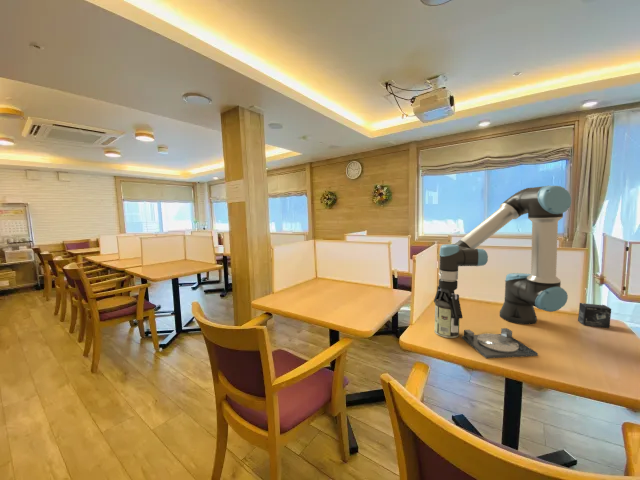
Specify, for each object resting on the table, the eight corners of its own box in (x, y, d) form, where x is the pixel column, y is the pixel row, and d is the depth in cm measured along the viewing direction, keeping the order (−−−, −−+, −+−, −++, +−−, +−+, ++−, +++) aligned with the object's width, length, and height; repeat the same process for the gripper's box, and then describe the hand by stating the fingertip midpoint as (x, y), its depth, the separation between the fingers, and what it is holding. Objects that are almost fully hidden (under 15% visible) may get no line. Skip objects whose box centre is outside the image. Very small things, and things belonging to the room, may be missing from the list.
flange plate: (506, 336, 118) (507, 327, 117) (537, 356, 102) (538, 346, 101) (461, 338, 117) (462, 329, 116) (486, 358, 101) (486, 348, 100)
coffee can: (455, 328, 126) (456, 299, 124) (462, 339, 116) (463, 307, 114) (431, 327, 128) (432, 298, 126) (436, 337, 118) (437, 306, 116)
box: (583, 325, 126) (585, 306, 125) (577, 321, 131) (579, 302, 130) (609, 328, 123) (612, 308, 122) (602, 323, 128) (604, 304, 127)
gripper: (427, 273, 131) (426, 314, 134) (455, 287, 107) (453, 338, 109) (442, 272, 132) (440, 314, 134) (473, 287, 107) (471, 338, 109)
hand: (446, 325), depth 122 cm, fingers open, 13 cm apart
